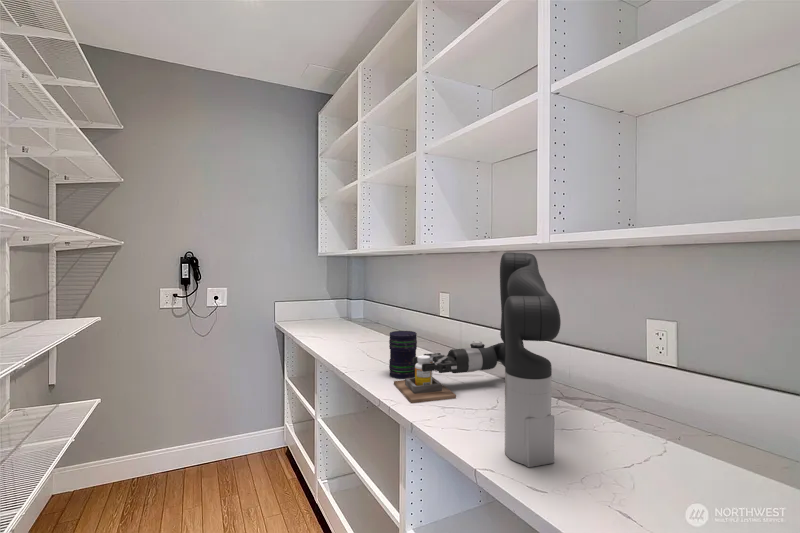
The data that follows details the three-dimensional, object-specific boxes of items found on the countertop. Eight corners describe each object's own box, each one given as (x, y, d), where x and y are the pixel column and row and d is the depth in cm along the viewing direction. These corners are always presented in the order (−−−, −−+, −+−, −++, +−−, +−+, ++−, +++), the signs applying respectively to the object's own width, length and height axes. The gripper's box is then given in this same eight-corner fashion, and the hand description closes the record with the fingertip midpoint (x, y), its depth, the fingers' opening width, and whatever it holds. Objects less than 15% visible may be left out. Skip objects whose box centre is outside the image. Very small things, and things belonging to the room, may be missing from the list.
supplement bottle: (419, 383, 125) (419, 353, 125) (435, 386, 122) (435, 355, 122) (411, 388, 120) (412, 357, 120) (427, 391, 118) (427, 359, 118)
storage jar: (383, 375, 138) (383, 333, 138) (401, 369, 145) (401, 329, 145) (404, 381, 131) (404, 337, 131) (422, 374, 139) (422, 332, 139)
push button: (480, 365, 151) (480, 339, 151) (490, 368, 146) (490, 342, 146) (467, 367, 148) (467, 341, 148) (476, 371, 143) (476, 344, 143)
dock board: (456, 398, 115) (456, 388, 115) (411, 403, 111) (411, 392, 111) (433, 380, 132) (433, 371, 132) (393, 384, 128) (393, 375, 128)
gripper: (455, 344, 132) (410, 347, 128) (475, 353, 119) (425, 357, 114) (455, 366, 132) (410, 370, 128) (475, 378, 119) (425, 383, 114)
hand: (417, 364), depth 121 cm, fingers open, 8 cm apart
